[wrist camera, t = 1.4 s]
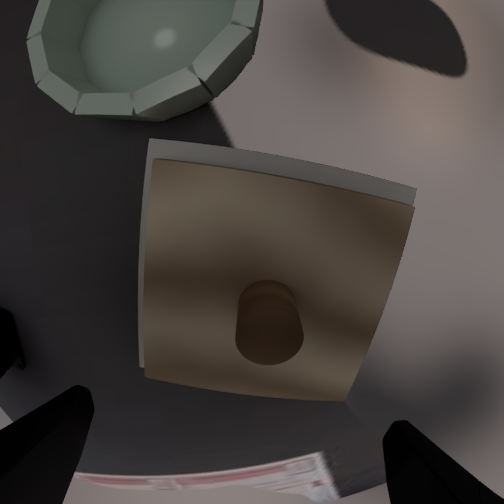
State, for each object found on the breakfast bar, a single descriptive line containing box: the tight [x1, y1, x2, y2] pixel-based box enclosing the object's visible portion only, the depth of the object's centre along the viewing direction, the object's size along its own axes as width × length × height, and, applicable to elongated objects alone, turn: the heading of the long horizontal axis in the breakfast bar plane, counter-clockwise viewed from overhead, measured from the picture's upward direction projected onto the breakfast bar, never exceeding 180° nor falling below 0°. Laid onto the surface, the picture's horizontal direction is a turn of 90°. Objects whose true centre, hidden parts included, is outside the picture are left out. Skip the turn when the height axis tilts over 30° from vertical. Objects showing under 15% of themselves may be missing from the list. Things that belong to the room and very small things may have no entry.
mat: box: [138, 138, 417, 368], centre depth 19 cm, size 16×16×1 cm
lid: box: [143, 158, 415, 401], centre depth 17 cm, size 14×14×5 cm
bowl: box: [27, 0, 263, 122], centre depth 12 cm, size 12×12×5 cm
